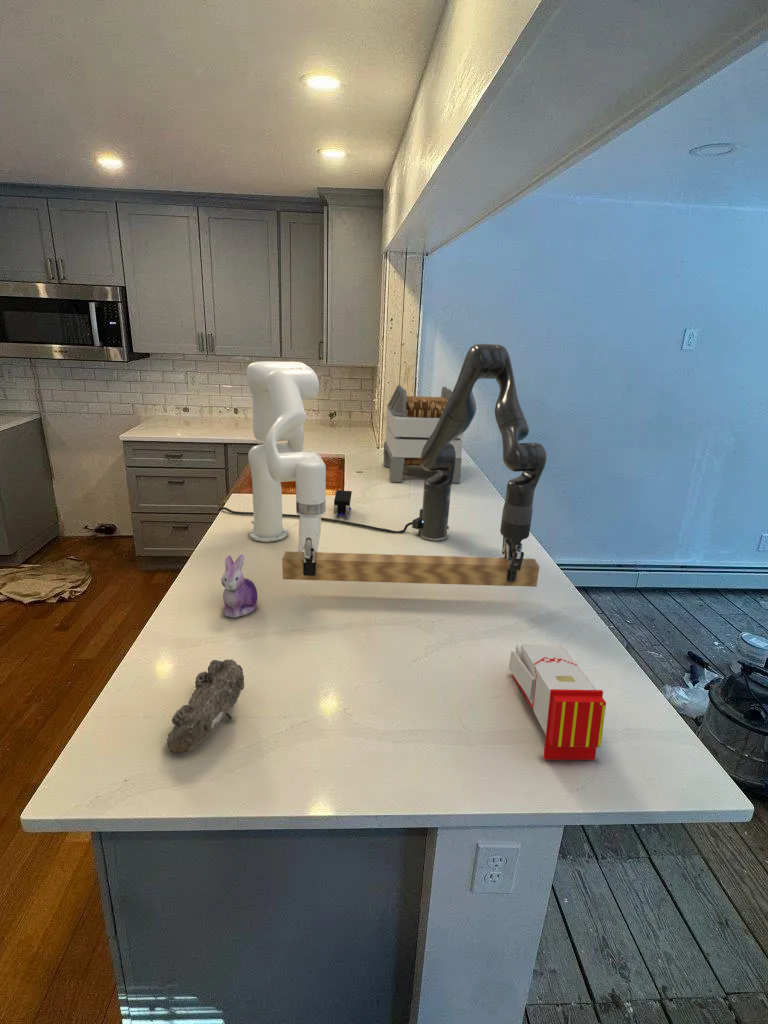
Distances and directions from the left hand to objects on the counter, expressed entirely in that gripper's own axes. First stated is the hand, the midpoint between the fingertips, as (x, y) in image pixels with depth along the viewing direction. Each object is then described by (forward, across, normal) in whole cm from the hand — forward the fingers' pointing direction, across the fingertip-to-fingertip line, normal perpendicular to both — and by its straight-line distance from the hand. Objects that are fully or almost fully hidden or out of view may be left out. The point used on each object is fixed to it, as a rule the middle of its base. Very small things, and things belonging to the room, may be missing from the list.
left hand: (310, 569), depth 152 cm
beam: (+2, 0, +27) cm, 27 cm away
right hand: (0, 0, +54) cm, 54 cm away
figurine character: (+8, -65, +5) cm, 66 cm away
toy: (+7, +45, +52) cm, 69 cm away
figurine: (+8, +9, -17) cm, 21 cm away
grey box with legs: (+9, -126, +38) cm, 133 cm away
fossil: (+7, +50, -13) cm, 52 cm away
